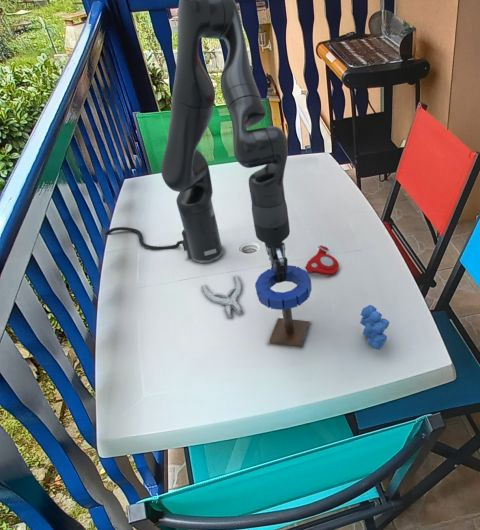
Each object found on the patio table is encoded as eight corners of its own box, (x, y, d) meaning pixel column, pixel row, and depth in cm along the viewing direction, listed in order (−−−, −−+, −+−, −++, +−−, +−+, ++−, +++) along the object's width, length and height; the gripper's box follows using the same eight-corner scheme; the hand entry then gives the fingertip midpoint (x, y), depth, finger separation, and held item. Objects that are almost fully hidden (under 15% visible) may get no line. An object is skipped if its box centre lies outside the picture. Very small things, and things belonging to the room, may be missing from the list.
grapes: (398, 355, 119) (401, 320, 112) (373, 364, 117) (373, 328, 110) (379, 323, 128) (380, 288, 120) (355, 330, 125) (354, 295, 118)
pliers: (236, 273, 140) (252, 305, 130) (237, 277, 141) (253, 309, 131) (201, 283, 136) (215, 317, 126) (202, 287, 137) (216, 322, 127)
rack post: (269, 343, 122) (263, 309, 114) (278, 320, 128) (273, 287, 121) (301, 347, 121) (297, 313, 114) (308, 323, 127) (305, 290, 120)
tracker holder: (346, 268, 143) (316, 273, 137) (341, 278, 146) (312, 284, 140) (327, 239, 149) (298, 243, 143) (323, 250, 152) (294, 254, 146)
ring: (250, 306, 111) (248, 297, 110) (266, 271, 121) (265, 263, 119) (304, 312, 110) (303, 303, 108) (316, 276, 120) (315, 267, 118)
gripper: (247, 204, 112) (257, 263, 122) (260, 238, 102) (270, 299, 112) (279, 197, 114) (286, 256, 125) (296, 230, 104) (302, 291, 115)
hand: (279, 276), depth 119 cm, fingers closed on ring, 3 cm apart
